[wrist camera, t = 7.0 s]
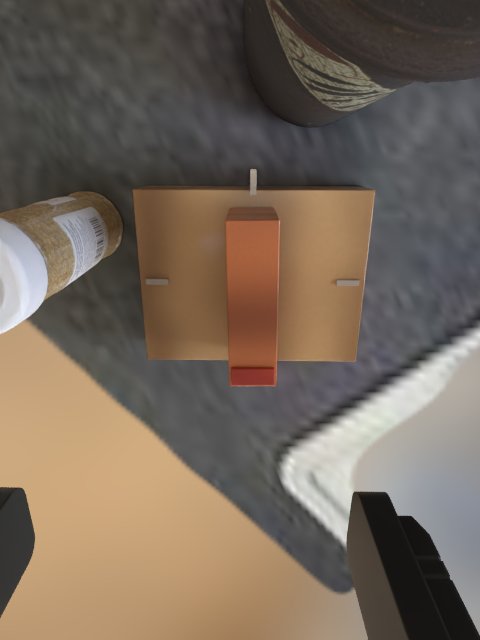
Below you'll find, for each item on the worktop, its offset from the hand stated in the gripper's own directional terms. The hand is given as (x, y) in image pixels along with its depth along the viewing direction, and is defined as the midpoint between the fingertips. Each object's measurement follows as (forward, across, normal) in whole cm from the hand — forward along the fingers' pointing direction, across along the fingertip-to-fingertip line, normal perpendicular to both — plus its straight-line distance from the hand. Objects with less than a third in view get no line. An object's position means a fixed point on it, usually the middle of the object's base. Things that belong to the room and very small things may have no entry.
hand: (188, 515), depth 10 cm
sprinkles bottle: (+21, +9, -4) cm, 23 cm away
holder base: (+20, -2, -1) cm, 20 cm away
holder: (+17, -2, -1) cm, 17 cm away
